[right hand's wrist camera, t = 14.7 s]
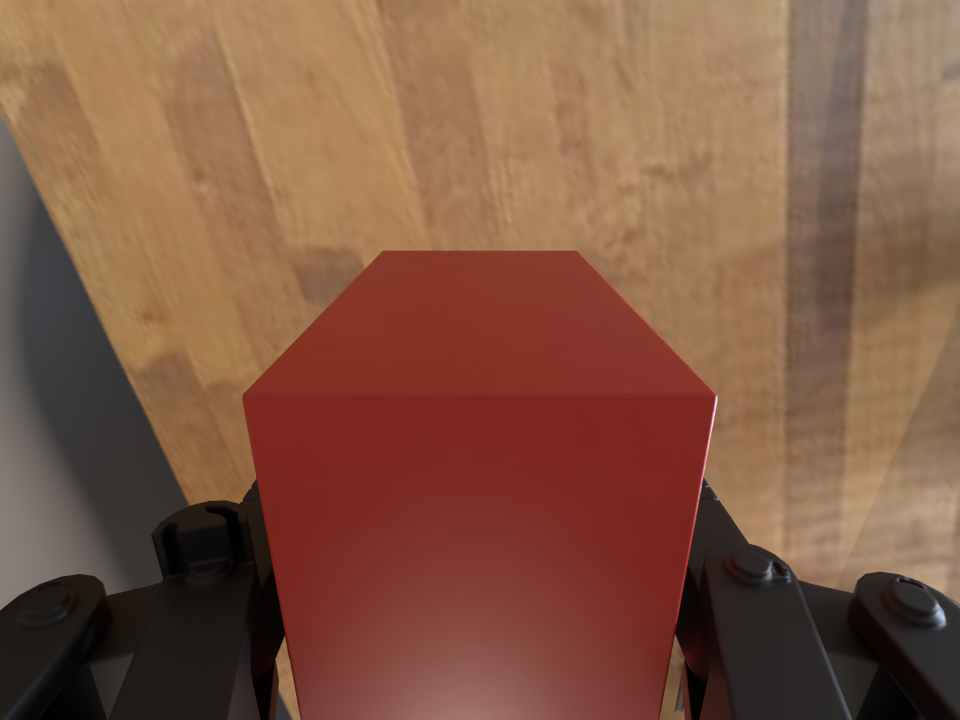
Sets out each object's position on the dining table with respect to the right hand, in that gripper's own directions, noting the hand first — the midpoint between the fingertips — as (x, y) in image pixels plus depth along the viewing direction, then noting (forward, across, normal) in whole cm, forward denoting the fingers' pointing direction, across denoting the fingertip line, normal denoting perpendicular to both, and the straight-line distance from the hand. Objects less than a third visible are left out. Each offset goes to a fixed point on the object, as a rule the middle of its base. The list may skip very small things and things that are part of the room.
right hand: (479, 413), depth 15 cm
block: (+1, 0, 0) cm, 1 cm away
